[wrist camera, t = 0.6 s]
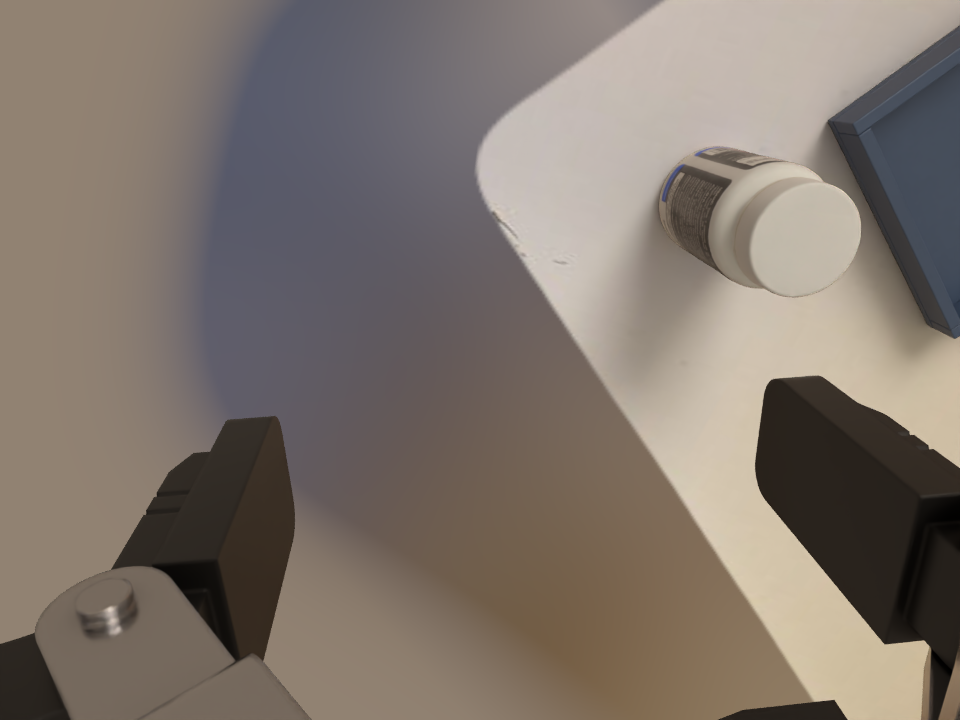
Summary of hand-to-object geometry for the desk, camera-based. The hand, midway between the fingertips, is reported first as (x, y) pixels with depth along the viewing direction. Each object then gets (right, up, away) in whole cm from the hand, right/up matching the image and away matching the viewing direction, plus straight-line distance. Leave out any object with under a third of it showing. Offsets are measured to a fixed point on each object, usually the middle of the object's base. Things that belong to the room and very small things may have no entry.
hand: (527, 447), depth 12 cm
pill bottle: (+9, +9, +20) cm, 24 cm away
